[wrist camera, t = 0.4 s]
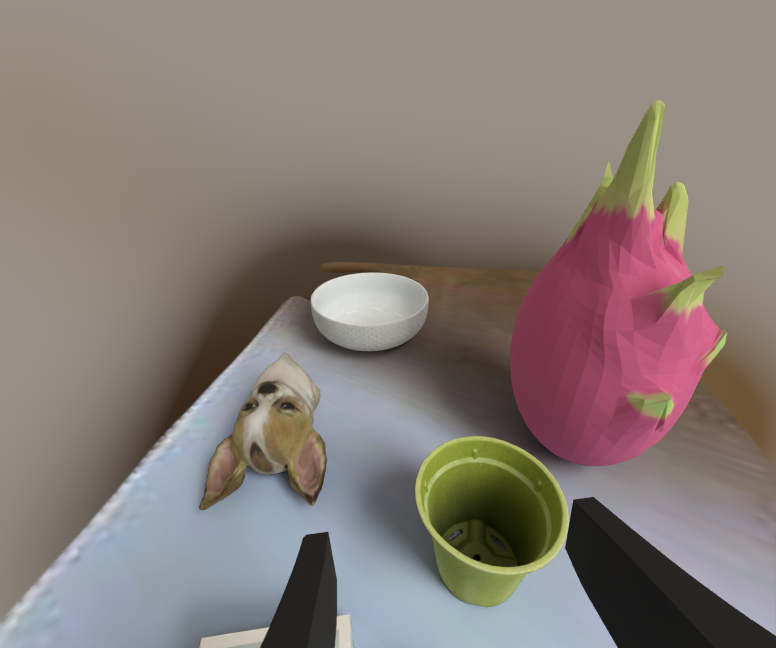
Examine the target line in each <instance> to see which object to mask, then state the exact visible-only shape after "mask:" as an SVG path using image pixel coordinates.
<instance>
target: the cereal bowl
mask: <svg viewBox="0 0 776 648" xmlns="http://www.w3.org/2000/svg"><path fill="white" fill-rule="evenodd" d="M428 299H429V298H428V294H427V292H426V290H425V289H424V287H423V286H421V285H420V284H419V283H417V282H415V281H414V280H411V279H409V278H406V277H403V276H399V275H394V274H387V273H359V274H352V275H346V276H342V277H338V278H335V279H332V280H330V281H328V282H326V283H324V284H322V285H321V286H319V287H318V288H317V289H316V290H315V291H314V292H313V294H312V296H311V310H312V315H313V319H314V322H315V324H316V327H317V328H318V330H319V331H320V332H321V333H322V334H323V335H324V336H325V337H326V338H327V339H328V340H330V341H331V342H333V343H334V344H337V345H339V346H342V347H344V348H348V349H352V350H358V351H379V350H385V349H389V348H393V347H396V346H399V345H401V344H403V343H405V342H407V341H408V340H410V339H411V338H413V337H414V335H416V334H417V333H418V332H419V331H420V329H421V328H422V326H423V324H424V322H425V320H426V316H427V312H428V303H429V300H428Z"/></svg>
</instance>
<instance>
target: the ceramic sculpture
mask: <svg viewBox="0 0 776 648" xmlns="http://www.w3.org/2000/svg"><path fill="white" fill-rule="evenodd" d="M319 401H320V389H319V388H318V387H317V386H316V385H315V383H314V382H313V380H312V379H311V377H310V376H309V375H308V374H307V373H306V372H305V371H304V370H303V369H302V368H301V367H300V365H298V364H297V363H296V362H295V361H294V360H293V359H292V358H291V357H290V356H289V355H288V354H287V353H283V354H282V355H281V357H280V358H279V359H278V360H277V361H275V362H274V363H273V364H271V365H270V366H269V367H268V368H266V369H265V371H264V372H263V374H262V375H261V376H260V377H259V378H258V380H257V382H256V384H255V386H254V389H253V390H252V392H251V396H250V397H249V398H248V400H247V401H246V402H245V404H244V405H243V407H242V408H241V410H240V412H239V415H238V419H237V422H236V424H235V426H234V432H233V434H232V435H230V436H229V437H228V438H226V439H224V440H223V441H222V442H221V443H220V444H219V445H218V446H217V448H216V452H215V454H214V456H213V457H212V459H211V460H210V463H209V468H208V472H209V474H208V475H207V480H206V488H205V493H204V497H203V499H202V501H201V504H200V507H199V509H200V510H205V509H207V508H208V507H210V506H212V505H213V504H215V503H216V502H218V501H220V500H222V499H223V498H225V497H226V496H228V495H229V494H231V493H232V492H234V491H235V490H237V489H238V488H239V487H240V486H241V484H242V483H243V480H244V477H245V470H246V466H250V467H251V468H252V469H253V470H254V471H255V472H257V473H259V474H267V475H271V474H276V473H280V472H283V471H286V470H288V476H289V482H290V485H291V487H292V488H293V489H294V490H296V491H297V492H298V493H299V494H300V495H301V496H303V497H304V498H305V499H306V501H307V502H308V503H309V504H310V505H312V506H313V505H314V504H315V502H316V499H317V497H318V495H319V493H320V491H321V489H322V485H323V481H324V476H325V471H326V462H327V458H326V453H325V443H324V441H323V439H322V438H321V436H320V435H319V434H318V433H317V432H316V431H315V430H314V428H313V427H312V423H313V420H314V419H313V413H314V410H315V409H316V407H317V406H318V404H319Z"/></svg>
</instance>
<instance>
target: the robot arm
mask: <svg viewBox="0 0 776 648" xmlns="http://www.w3.org/2000/svg"><path fill="white" fill-rule="evenodd" d="M565 549H566V551H567V553H568V555H569V558H570V560H571V562H572V565H573V567H574V569H575V571H576V573H577V575H578V578H579V580H580V582H581V584H582V586H583V588H584V590H585V592H586V593H587V595H588V597H589V599H590V601H591V602H592V604H593V606H594V607H595V609H596V611H597V613H598V614H599V616H600V618H601V620H602V621H603V623H604V625H605V626H606V628H607V630H608V632H609V633H610V635H611V637H612V638H613V640H614V642H615V644H616V645H617V647H618V648H776V636H775V635H774V634H772V633H771V632H769V631H768V630H766V629H765V628H763V627H762V626H760V625H759V624H757V623H756V622H754V621H753V620H751V619H750V618H748V617H747V616H745V615H744V614H743V613H741V612H740V611H738V610H737V609H735V608H734V607H733V606H731V605H730V604H728V603H727V602H726V601H724V600H723V599H722V598H720V597H719V596H717V595H716V594H715V593H713V592H712V591H711V590H709V589H708V588H707V587H705V586H704V585H702V584H701V583H700V582H698V581H697V580H696V579H694V578H693V577H692V576H691V575H689V574H688V573H687V572H685V571H684V570H683V569H681V568H680V567H679V566H678V565H676V564H675V563H674V562H672V561H671V560H670V559H669V558H667V557H666V556H665V555H664V554H662V553H661V552H660V551H658V550H657V549H656V548H655V547H654V546H652V545H651V544H650V543H649V542H647V541H646V540H645V539H644V538H642V537H641V536H640V535H639V534H638V533H636V532H635V531H634V530H633V529H631V528H630V527H629V526H628V525H627V524H625V523H624V522H623V521H622V520H621V519H619V518H618V517H617V516H616V515H615V514H613V513H612V512H611V511H610V510H609V509H607V508H606V507H605V506H604V505H602V504H601V503H600V502H599V501H598V500H596V499H595V498H594V497H590V498H582V499H575V500H573V505H572V511H571V517H570V523H569V529H568V535H567V541H566V547H565ZM336 627H337V578H336V573H335V567H334V561H333V556H332V550H331V545H330V539H329V533H328V532H324V533H316V534H309V535H306V536H305V537H304V538H303V540H302V544H301V547H300V550H299V553H298V556H297V559H296V562H295V565H294V568H293V571H292V573H291V576H290V578H289V581H288V584H287V586H286V589H285V591H284V594H283V596H282V599H281V601H280V603H279V606H278V608H277V610H276V613H275V615H274V617H273V620H272V622H271V624H270V627H269V629H268V631H267V633H266V636H265V638H264V640H263V642H262V644H261V646H260V648H335V639H336Z"/></svg>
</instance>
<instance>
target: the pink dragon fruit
mask: <svg viewBox="0 0 776 648" xmlns="http://www.w3.org/2000/svg"><path fill="white" fill-rule="evenodd" d="M664 112H665V105H664V103H663V102H662V101H661V100H657V101H655V102H654V103H653V104H652V105H651V106H650V108H649V109H648V111H647V112H646V114H645V116H644V118H643V119H642V121H641V123H640V125H639V127H638V129H637V130H636V132H635V134H634V136H633V138H632V140H631V141H630V143H629V145H628V147H627V149H626V152H625V154H624V157H623V159H622V161H621V164H620V166H619V168H618V171H617V173H616V175H615V177H614V179H613V178H612V173H611V168H610V162H608V165H607V169H606V172H605V176H604V178H603V180H602V182H601V185H600V187H599V188H598V190H597V192H596V193H595V195H594V197H593V199H592V200H591V202H590V203H589V205H588V207H587V208H586V210H585V212H584V213H583V215H582V216H581V218H580V219H579V221H578V222H577V224H576V225H575V227H574V228H573V230H572V232H571V233H570V235H569V237H568V238H567V240H566V241H565V243H564V244H563V246H562V247H561V248H560V249H559V250H558V252H557V253H556V254H555V255H554V256H553V257H552V258H551V259H550V261H549V262H548V263H547V264H546V266H545V267H544V268H543V269H542V270H541V272H540V273H539V274H538V276H537V277H536V279H535V280H534V282H533V283H532V285H531V287H530V289H529V290H528V292H527V294H526V296H525V298H524V300H523V302H522V304H521V307H520V309H519V312H518V315H517V318H516V322H515V326H514V330H513V336H512V342H511V349H510V372H511V382H512V388H513V393H514V396H515V399H516V403H517V406H518V409H519V411H520V413H521V415H522V417H523V419H524V421H525V423H526V425H527V427H528V428H529V429H530V431H531V432H532V433H533V435H534V436H535V437H536V438H537V440H538V441H539V442H540V443H541V444H542V445H543V446H545V447H546V448H547V449H548V450H549V451H551V452H552V453H554V454H555V455H557V456H559V457H561V458H563V459H565V460H567V461H570V462H573V463H576V464H581V465H586V466H605V465H613V464H616V463H620V462H623V461H626V460H629V459H631V458H633V457H636V456H637V455H639V454H641V453H643V452H644V451H645V450H647V449H648V448H650V447H651V446H653V445H654V444H655V443H657V442H658V441H659V440H660V439H661V438H662V437H663V436H664V435H665V434H666V433H667V432H668V431H669V430H670V429H671V428H672V426H673V425H674V424H675V422H676V421H677V420H678V418H679V417H680V415H681V414H682V412H683V411H684V409H685V408H686V406H687V404H688V403H689V401H690V399H691V396H692V394H693V392H694V390H695V388H696V386H697V384H698V382H699V380H700V378H701V376H702V373H703V371H704V370H705V368H706V367H707V366H708V365H709V363H710V362H711V361H712V360H713V359H714V357H715V356H716V355H717V354H718V352H719V351H720V350H721V349H722V347H723V346H724V345H725V340H726V335H727V332H726V331H723V330H720V329H718V327H717V325H716V324H715V323H714V322H713V321H712V320H711V319H710V317H709V315H708V313H707V311H706V309H705V307H704V305H703V296H704V290H706V288H708V287H709V286H710V285H711V284H712V283H713V282H714V281H715V280H716V279H718V278H720V277H722V274H723V266H720V267H717V268H713V269H710V270H707V271H704V272H701V273H698V274H695V275H693V276H692V275H691V274H690V272H689V270H688V268H687V266H686V264H685V262H684V260H683V258H682V250H683V242H684V233H685V225H686V217H687V208H688V196H687V193H686V189H685V185H684V184H682V183H680V182H677V183H675V184H673V185H671V186H670V188H669V190H668V192H667V194H666V195H665V197H664V199H663V201H662V202H661V204H660V205H659V206H658V208H657V209H656V210H654V207H653V199H652V187H653V181H654V175H655V160H656V152H657V147H658V142H659V137H660V132H661V127H662V122H663V117H664Z"/></svg>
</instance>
